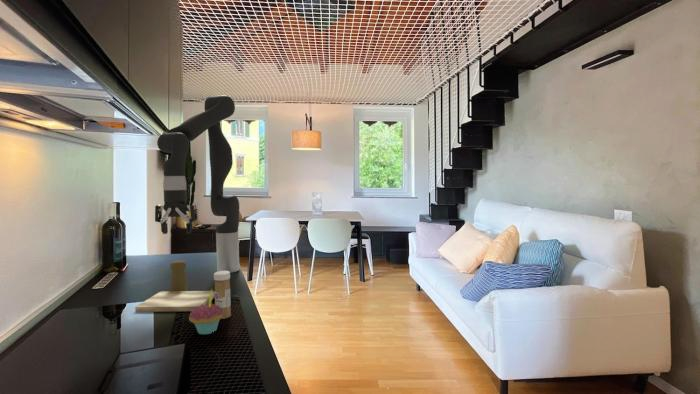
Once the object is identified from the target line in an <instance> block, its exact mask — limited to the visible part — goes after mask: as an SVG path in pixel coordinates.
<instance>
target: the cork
mask: <svg viewBox="0 0 700 394" xmlns="http://www.w3.org/2000/svg"><path fill="white" fill-rule="evenodd" d="M169 265H170V267H169V268H170V270H171V281H170V289H169V290H170V291H189V287H188V281H187V276H186V271H185V270H186V267H187V263H186V261H185V260H182V259H181V260H173V261H172V262H170V264H169Z"/></svg>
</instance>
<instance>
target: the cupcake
mask: <svg viewBox="0 0 700 394" xmlns="http://www.w3.org/2000/svg"><path fill="white" fill-rule="evenodd" d="M209 291H210V296H209V303H208V304H207V305H200V306H197V307H196V308H195V309H193V310H192V311H190V313H189V317H188V320H189V322H190V323H193V324H194V326H195V328H196V332H197V333H198V334H199V335H210V334H213V333H215V332H216V331H217V329H218V326H219V324H220V323H219V322H220V320H221V319H220V318H222V315H223V310H222V309H221V307H219V306H217V305H215V303H212V301H213V299H212V292H213V291H214V290H213V288H211V289H210V290H209ZM214 331H215V332H214ZM212 332H213V333H212Z"/></svg>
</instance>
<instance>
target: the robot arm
mask: <svg viewBox="0 0 700 394" xmlns="http://www.w3.org/2000/svg"><path fill="white" fill-rule="evenodd" d="M235 110H236V105H235V101H234V99H233V98H232V97H231V96H229V95H223V94H221V95H213V96H211V95H210V96H208V97H206V99H205V101H204V111H202V112H200V113H197V114H195V115H193V116H191V117H190V118H188V119H185V120H184V122H182V123H181V124H179V125H177V126H175V127H173V128H170V129H168V130H166V131H164V132H162V133H161V134H162V135H161V134H160V135H159V137H158V138H157V141H156V143H157V144H156V145H157V148H158V149H159V151H161V152H162V153H166V154H171V156H170V157H169V159H165V160H164V161H163V164H162V165H163V166H162V167H163V181H162V188H163V202H164V205H162V204H158V205H157V204H156V205H155V206H154V208H155V209H154V222H156V223H160V231H161V233H162V234H163V235H165V234H166V235H167V234H168V232H169V231H168V230H169V228H168V223H167V222H168V221H169V219H170V218H174V217H176V218H181V219H183V220H184V222H185V229H186V230H185V233H186V234H191V233H192V231H193V223H194V222H196V221H197V220H198V211H197V204H191V205H190V204H188V194H187V193H188V192H187V180H186V168H185V167H186V161H187V159H188V154H189V150H190V142H192V141H194V140H195V139H196V138H198V137H199V136H200V135H201V134H203V133H205V131H207V135H208V145H209V146H208V147H209V164H210V165H209V167H210V181H211V182H210V184H211V185H210V210H211V212H212V215H214V216H215V217H225V221H224V222H223V223H221V224H217V225H216V227H215V243H216V244H215V245H216V268H217V269H216V270H217V271H216V272H218V271H229V272H230V274H232V273H235V272H238V271H240V249H239V248H240V246H239V245H240V244H239V243H240V242H239V241H240V240H239V226H240V202H239V201H240V200H239V198H238V197H237V196H236V195H233V194H228V195H227V194H224V186H225V182H226V180H227V178H228V175H229V174H230V172H231V170H232V167H233V149H232V147H231V144H230V143H229V141H228V139H227V138H226V136H225V134H224V133H223V130H222V127H221V121H223V120H226V119H229V118H230V117H231V116H233V115H234V113H235ZM163 210H164V211H165V212H164V214H163ZM187 211H189V212H190V214H189V213H188V212H187Z"/></svg>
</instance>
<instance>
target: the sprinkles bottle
mask: <svg viewBox="0 0 700 394" xmlns="http://www.w3.org/2000/svg"><path fill="white" fill-rule="evenodd" d="M230 279H231V273H230V272H229V271H218V272H217V271H215V272H214V273H213V281H214V291H215V298H214V305H217V306H219V307H221V309H222V310H223V315H222V318H220V320H225V319H228V318H230V317H231V316H232V312H231V311H232V309H231V281H230Z"/></svg>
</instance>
